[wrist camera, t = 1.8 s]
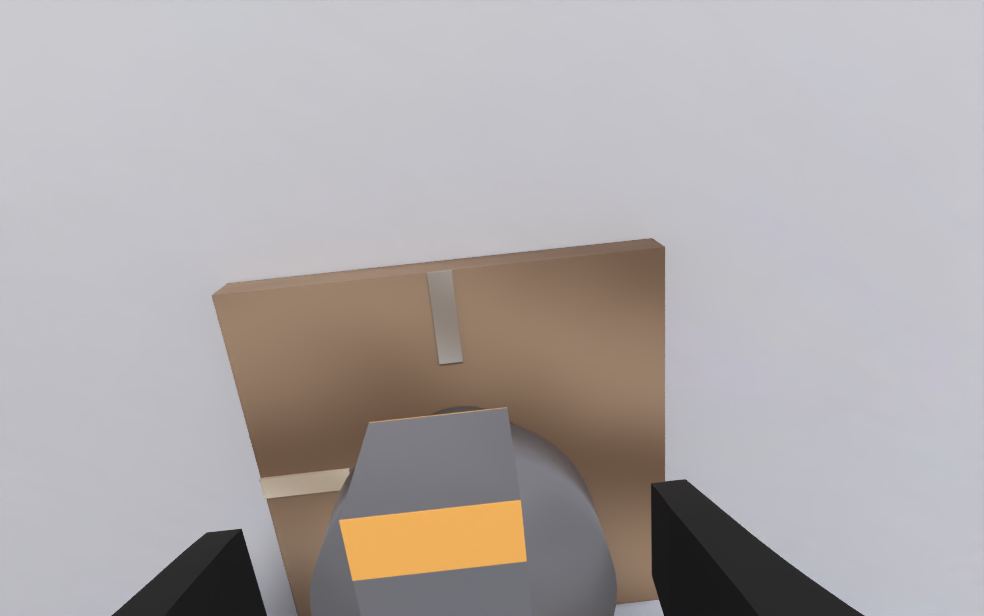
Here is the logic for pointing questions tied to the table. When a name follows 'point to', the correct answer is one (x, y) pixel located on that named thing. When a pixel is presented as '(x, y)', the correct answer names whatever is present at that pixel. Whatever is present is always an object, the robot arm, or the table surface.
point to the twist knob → (463, 526)
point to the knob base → (457, 377)
